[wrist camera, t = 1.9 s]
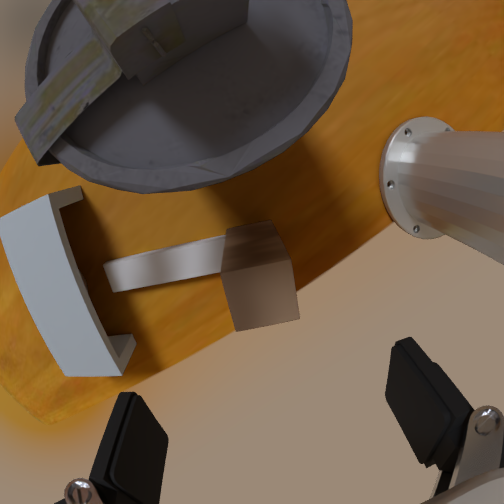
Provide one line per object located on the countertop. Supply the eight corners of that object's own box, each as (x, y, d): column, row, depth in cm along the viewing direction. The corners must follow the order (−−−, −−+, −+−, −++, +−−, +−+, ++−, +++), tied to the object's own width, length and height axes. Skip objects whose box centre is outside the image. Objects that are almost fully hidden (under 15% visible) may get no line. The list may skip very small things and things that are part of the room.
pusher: (271, 219, 25) (291, 259, 16) (278, 261, 26) (299, 318, 17) (105, 256, 26) (52, 304, 16) (118, 292, 27) (75, 350, 17)
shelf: (80, 185, 23) (48, 194, 18) (136, 343, 29) (122, 375, 24) (27, 207, 23) (-4, 220, 18) (83, 348, 29) (65, 376, 24)
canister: (232, 36, 19) (228, -144, 1) (299, 126, 23) (473, 62, 4) (131, 104, 21) (-54, 45, 2) (194, 194, 24) (70, 320, 5)
